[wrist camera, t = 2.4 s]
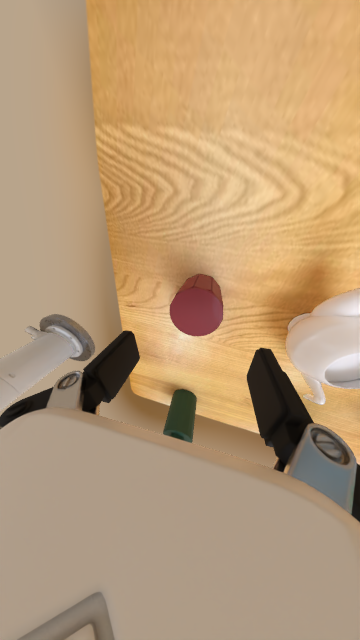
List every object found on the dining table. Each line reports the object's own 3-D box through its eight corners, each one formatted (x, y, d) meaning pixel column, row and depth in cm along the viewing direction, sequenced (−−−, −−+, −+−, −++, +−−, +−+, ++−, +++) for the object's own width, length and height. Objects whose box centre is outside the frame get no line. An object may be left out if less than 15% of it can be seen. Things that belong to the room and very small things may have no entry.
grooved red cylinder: (175, 299, 24) (161, 320, 17) (194, 266, 21) (186, 275, 14) (204, 317, 25) (202, 344, 18) (228, 287, 21) (236, 307, 14)
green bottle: (169, 395, 41) (150, 462, 29) (180, 386, 37) (163, 458, 25) (188, 406, 42) (178, 475, 29) (201, 397, 38) (195, 473, 25)
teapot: (260, 364, 27) (279, 412, 19) (292, 262, 18) (357, 275, 10) (314, 370, 25) (360, 426, 17) (385, 257, 15) (564, 268, 8)
